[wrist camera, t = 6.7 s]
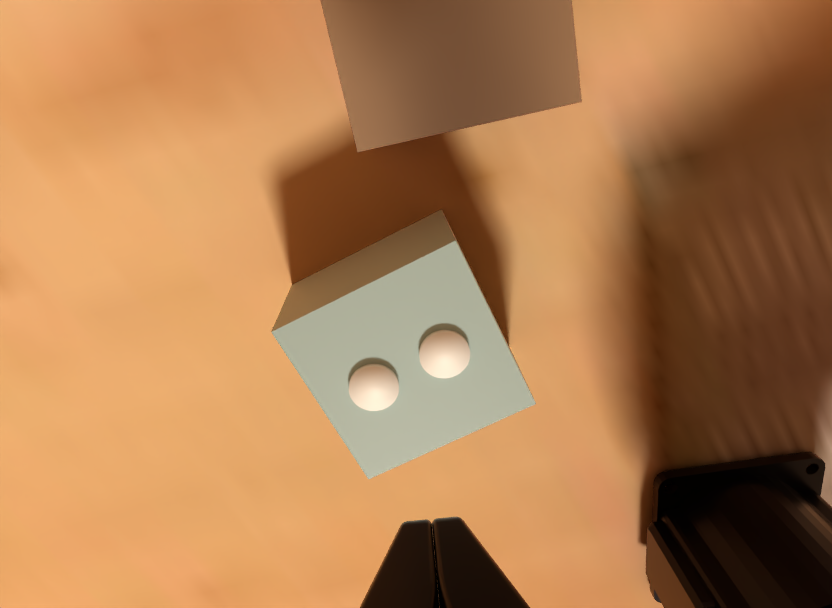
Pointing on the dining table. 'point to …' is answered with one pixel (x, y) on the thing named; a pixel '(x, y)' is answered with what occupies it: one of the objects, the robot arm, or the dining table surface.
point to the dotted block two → (401, 347)
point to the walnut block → (449, 63)
